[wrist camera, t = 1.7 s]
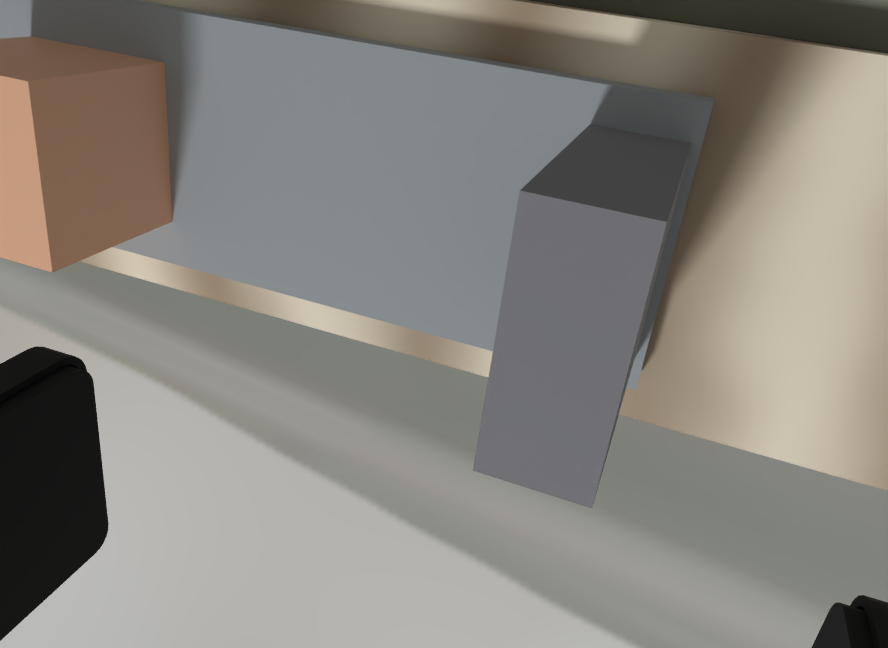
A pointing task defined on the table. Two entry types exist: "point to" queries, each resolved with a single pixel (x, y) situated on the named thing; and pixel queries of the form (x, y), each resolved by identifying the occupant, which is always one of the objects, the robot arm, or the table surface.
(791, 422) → the board
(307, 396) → the table surface
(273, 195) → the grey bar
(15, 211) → the cube
